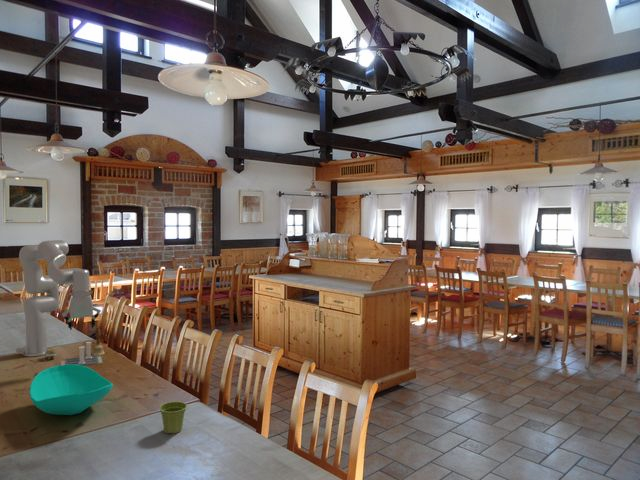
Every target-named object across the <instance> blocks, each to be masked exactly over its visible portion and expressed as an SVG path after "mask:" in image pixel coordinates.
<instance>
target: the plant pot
mask: <svg viewBox="0 0 640 480" xmlns="http://www.w3.org/2000/svg"><path fill="white" fill-rule="evenodd" d="M187 407H188V405H187V403H186V402H184V401H170V402H165V403H162V404H161V405H160V406H159V411H160V414H161V417H162V418H161V419H162V425H163V432H164V433H166V434H169V435H170V434H177V433H179V432H181V431H182V429H183V423H184V417H185V412H186V409H187Z"/></svg>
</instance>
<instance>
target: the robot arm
mask: <svg viewBox="0 0 640 480" xmlns="http://www.w3.org/2000/svg"><path fill="white" fill-rule="evenodd" d="M69 251H70V250H69V245H68V243H67V242H66V241H65V240H58V239H57V240H45V241H44V240H43V241H42V242H39V244H30V245H25V246H23V247H21V248H20V250H19V254H18V258H19V261H20V264H21V268H22V269H23V282H24V283H23V284H24V290H25V292H26V293H27V294H29V295H35V296H31V297H28V298H26V299H24V301H23V303H22V305H23V306H22V307H23V311H24V316H25V317H24V318H25V346H23V347H16V349H15V350H16V352H18V353H22V355H23V356H24V357H39V356H44V355H46V354H45V351H47V349H48V350H50V348H47V321H46V317H44V316H43V315H42V314H43V313H48V312H49V313H50V312H54V311H57V310H58V309H59V307H60V303H61V302H60V293H59V292H60V291H59V285H66V284H67V285H68V284H72V291H71V292H68V293H69V296H71V297H70V303H69V309H67V310H65V311H63V312H61V315H62V317H63V318H64V319H65V320H66V321H67V323H68V324H67V325H68V326H67V327H68V329H69V330H70V331H71V330H72V329H73V326H72V323H73V321H72V320H73V319H77V318H78V319H79V318H81V319H82V318H89V317H90V318H91V322H90V323H91V328H92V329H94V326H95V325H96V324H95V323H96V321H95V320H96V319H97V317H99V316H100V313H101V311H102V310H101V309H99V308H96V307H94V305H93V298H92V296H91V295H90V290H91V289H90V271H89V269H83V268H79V267H74V268H61V267H62V266H64V265H65V264H66V262H67V254H68V253H69ZM37 261H46V262H47V263H48V264H47V275H43V273H42V272H43V271H42V267H41V265H40V263H38V262H37ZM44 293H45V295H44ZM36 294H43V295H36ZM94 312H96V313H95V314H94ZM68 313H69V317H68V316H67V314H68Z"/></svg>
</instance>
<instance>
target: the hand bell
mask: <svg viewBox="0 0 640 480" xmlns="http://www.w3.org/2000/svg"><path fill="white" fill-rule="evenodd" d="M101 333H102V332H101V329H100V326H96V329H95V333H94V335H95V338H96V345H95V346H94V347H93V349H92V350H93V351H92V352H91V356H93V355H95V356H101V355H104V354H105V351H104V346H103V345H101V339H100V338H101V335H102V334H101Z"/></svg>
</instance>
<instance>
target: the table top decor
mask: <svg viewBox="0 0 640 480" xmlns="http://www.w3.org/2000/svg"><path fill="white" fill-rule="evenodd" d="M29 386H30V387H29V393H28V394H29V396H30V400H31V402H32V404H33V405H34V406H35V407H36V408H38V409H39V410H41V411H42V412H45V413H47V414H50V415H59V416H60V415H61V416H73V415H77V414H81V413H82V412H83V411H85V410H86V409H88V408H89V407H91V406H93V405H95V404H96V403H98V402H99V401H102V399H104V398H105V397H106V396H107V395H108V394H109V393H110V392H111V391H112V389H113V387H114V383H112V382H111V381H110V380H108V379H106V378H105V377H103V376H102V375H101V374H99V373H98V372H97V371H96V370H94V369H93V368H90V367H88V366H87V365H85V366H82V365H77V364H66V365H60V364H59V365H54V366H52V367H48V368H46V369H44V370H42V371H40V372H39V373H38V374H37V375H35V377H33V379H32V382H31V384H30V385H29Z"/></svg>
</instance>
